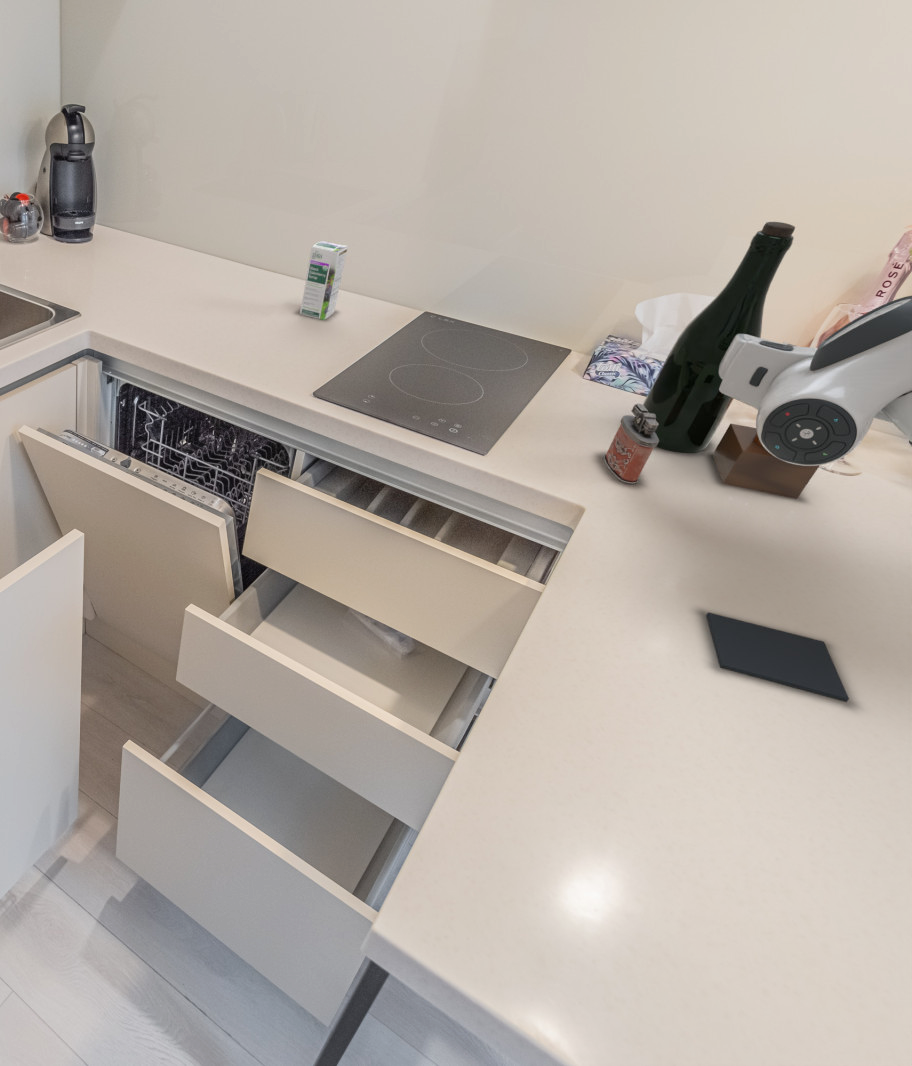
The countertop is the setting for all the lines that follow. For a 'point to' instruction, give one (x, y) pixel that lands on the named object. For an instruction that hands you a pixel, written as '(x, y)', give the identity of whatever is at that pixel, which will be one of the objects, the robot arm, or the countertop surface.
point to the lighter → (632, 445)
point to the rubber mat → (775, 656)
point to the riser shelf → (757, 465)
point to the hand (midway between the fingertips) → (833, 362)
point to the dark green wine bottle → (714, 348)
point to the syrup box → (323, 279)
